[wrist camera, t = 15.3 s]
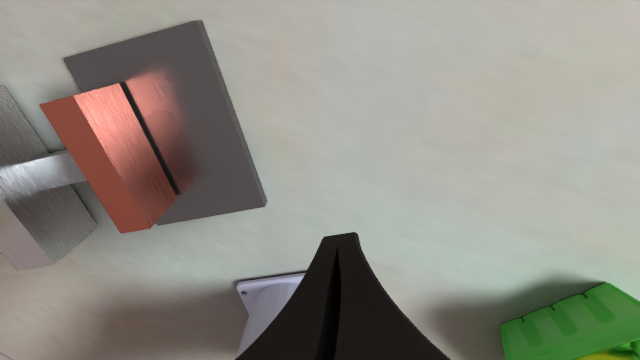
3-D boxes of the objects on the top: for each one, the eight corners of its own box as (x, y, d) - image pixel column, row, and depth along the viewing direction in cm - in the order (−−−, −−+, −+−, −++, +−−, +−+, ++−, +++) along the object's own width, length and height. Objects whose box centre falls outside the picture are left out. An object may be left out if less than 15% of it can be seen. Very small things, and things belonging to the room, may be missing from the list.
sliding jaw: (191, 210, 23) (161, 248, 19) (66, 233, 25) (15, 271, 21) (114, 55, 18) (54, 63, 14) (-34, 96, 20) (-124, 114, 16)
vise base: (267, 200, 22) (264, 206, 22) (163, 219, 24) (157, 225, 23) (202, 20, 17) (196, 20, 17) (73, 57, 19) (63, 58, 18)
